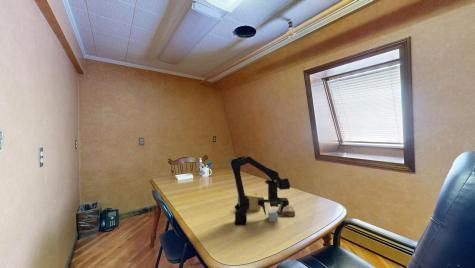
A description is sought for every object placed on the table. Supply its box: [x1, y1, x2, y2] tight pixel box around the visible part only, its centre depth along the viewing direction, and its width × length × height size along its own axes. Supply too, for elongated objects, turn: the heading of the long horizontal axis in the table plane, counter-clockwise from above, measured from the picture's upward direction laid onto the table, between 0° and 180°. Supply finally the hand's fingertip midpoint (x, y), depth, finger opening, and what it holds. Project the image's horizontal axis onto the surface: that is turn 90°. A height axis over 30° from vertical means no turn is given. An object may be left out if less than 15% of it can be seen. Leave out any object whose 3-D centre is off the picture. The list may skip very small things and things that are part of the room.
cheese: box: [245, 191, 263, 212], centre depth 137 cm, size 10×11×10 cm
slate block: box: [267, 209, 279, 222], centre depth 119 cm, size 5×5×5 cm
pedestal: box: [278, 205, 296, 217], centre depth 128 cm, size 9×9×3 cm
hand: (272, 215), depth 119 cm, fingers open, 9 cm apart
